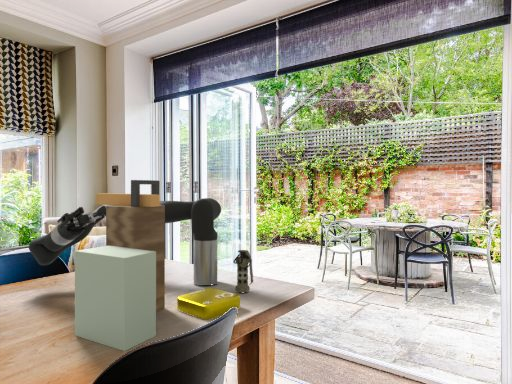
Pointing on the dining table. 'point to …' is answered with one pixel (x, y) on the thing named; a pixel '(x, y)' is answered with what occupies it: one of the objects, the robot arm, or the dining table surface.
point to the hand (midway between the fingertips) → (94, 208)
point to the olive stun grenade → (243, 271)
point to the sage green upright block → (115, 295)
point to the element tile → (207, 303)
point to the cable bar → (127, 199)
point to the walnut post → (140, 236)
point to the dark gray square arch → (136, 190)
